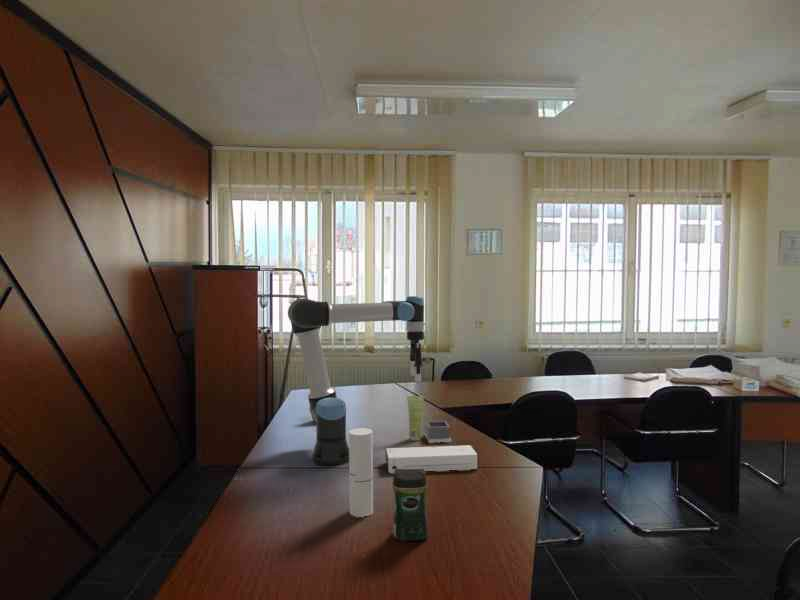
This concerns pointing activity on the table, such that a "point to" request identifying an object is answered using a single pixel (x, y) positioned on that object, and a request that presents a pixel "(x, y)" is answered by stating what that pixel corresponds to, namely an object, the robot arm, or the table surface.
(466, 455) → the laminator
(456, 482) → the table surface
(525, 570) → the table surface
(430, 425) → the grey and white box
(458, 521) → the table surface
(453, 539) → the table surface
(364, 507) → the cylindrical container
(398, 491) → the coffee jar
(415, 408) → the tube
